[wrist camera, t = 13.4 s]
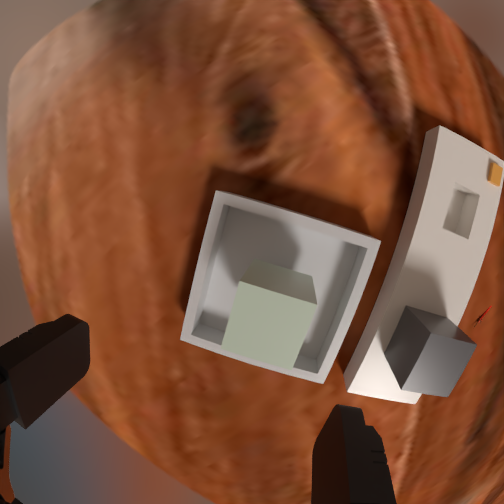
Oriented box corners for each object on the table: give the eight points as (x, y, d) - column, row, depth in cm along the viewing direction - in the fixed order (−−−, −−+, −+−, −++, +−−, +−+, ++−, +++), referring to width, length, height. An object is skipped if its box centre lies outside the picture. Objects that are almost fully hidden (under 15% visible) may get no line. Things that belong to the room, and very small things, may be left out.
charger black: (398, 297, 28) (431, 332, 20) (438, 309, 28) (477, 344, 19) (378, 343, 29) (400, 389, 21) (418, 352, 29) (447, 397, 20)
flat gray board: (426, 131, 26) (442, 124, 22) (488, 164, 25) (509, 162, 21) (343, 374, 32) (347, 395, 28) (407, 387, 31) (416, 407, 27)
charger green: (258, 253, 30) (239, 280, 20) (310, 269, 29) (317, 304, 20) (243, 303, 31) (220, 348, 21) (293, 318, 31) (291, 370, 21)
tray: (225, 190, 30) (215, 190, 26) (371, 235, 29) (381, 241, 25) (191, 325, 33) (180, 339, 30) (321, 365, 32) (323, 383, 28)
